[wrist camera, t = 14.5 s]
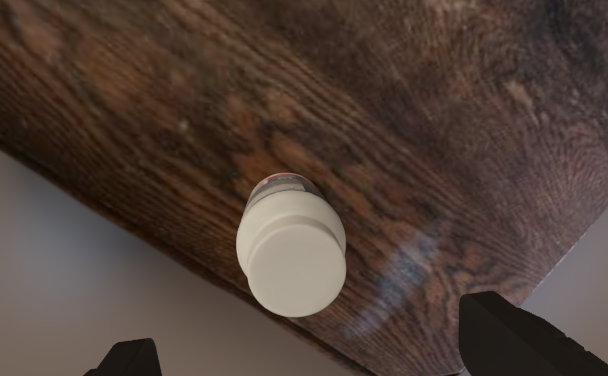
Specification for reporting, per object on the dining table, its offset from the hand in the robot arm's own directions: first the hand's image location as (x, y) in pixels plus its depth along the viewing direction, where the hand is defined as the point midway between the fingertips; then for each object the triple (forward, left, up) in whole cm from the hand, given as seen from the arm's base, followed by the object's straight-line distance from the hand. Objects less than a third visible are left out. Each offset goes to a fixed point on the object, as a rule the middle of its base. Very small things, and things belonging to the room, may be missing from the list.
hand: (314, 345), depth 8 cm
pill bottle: (0, 0, -14) cm, 14 cm away
